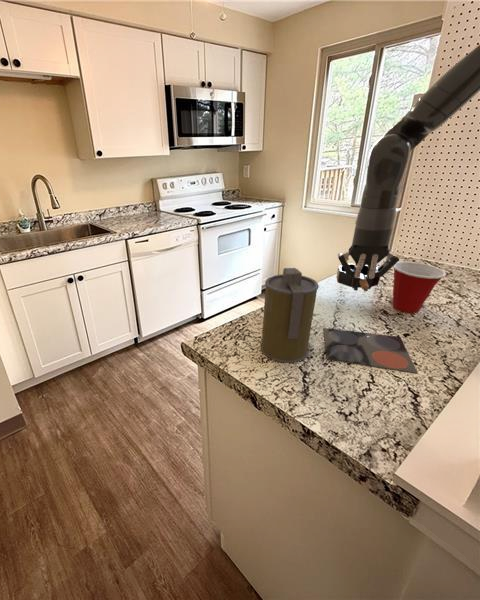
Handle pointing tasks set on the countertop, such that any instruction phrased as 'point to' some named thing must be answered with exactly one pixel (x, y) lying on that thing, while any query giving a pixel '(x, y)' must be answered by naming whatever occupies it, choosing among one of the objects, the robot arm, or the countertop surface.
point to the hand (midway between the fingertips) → (360, 289)
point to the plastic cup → (413, 285)
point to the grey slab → (368, 350)
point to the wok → (347, 279)
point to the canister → (288, 315)
